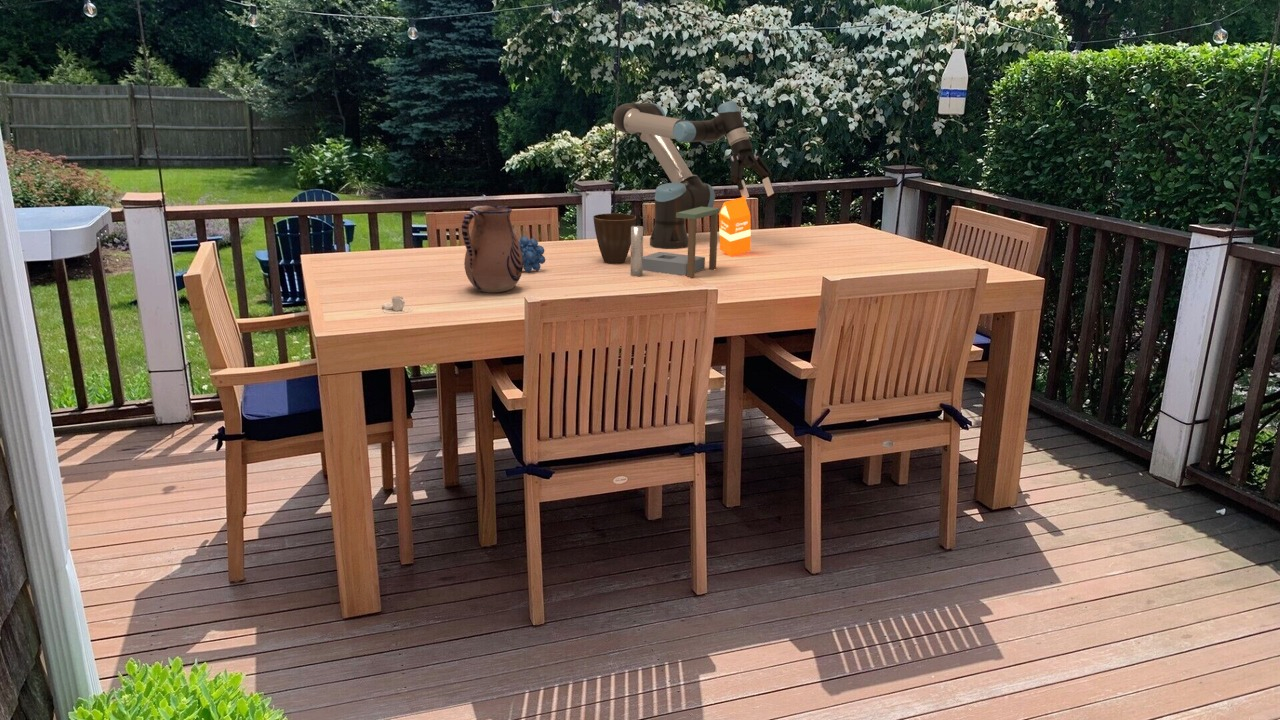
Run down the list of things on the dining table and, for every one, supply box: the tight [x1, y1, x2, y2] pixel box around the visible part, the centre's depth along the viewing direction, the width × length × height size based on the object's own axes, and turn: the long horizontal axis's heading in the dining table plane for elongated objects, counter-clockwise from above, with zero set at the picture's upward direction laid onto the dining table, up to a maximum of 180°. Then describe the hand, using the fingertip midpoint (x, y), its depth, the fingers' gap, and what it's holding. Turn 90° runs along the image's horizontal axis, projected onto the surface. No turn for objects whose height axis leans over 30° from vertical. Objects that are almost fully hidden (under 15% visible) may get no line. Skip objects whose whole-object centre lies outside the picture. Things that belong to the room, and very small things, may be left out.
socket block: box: [643, 251, 706, 277], centre depth 313 cm, size 18×14×4 cm
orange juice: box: [718, 196, 752, 257], centre depth 337 cm, size 8×9×20 cm
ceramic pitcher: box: [461, 204, 524, 294], centre depth 276 cm, size 18×21×25 cm
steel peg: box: [630, 225, 644, 277], centre depth 302 cm, size 4×4×16 cm
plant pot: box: [592, 213, 637, 265], centre depth 323 cm, size 15×15×16 cm
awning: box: [676, 207, 721, 279], centre depth 306 cm, size 7×18×21 cm, turn 149°
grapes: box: [518, 235, 547, 273], centre depth 305 cm, size 12×7×12 cm, turn 110°
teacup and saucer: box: [381, 295, 413, 315], centre depth 256 cm, size 9×8×4 cm
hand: (758, 196), depth 338 cm, fingers open, 13 cm apart
